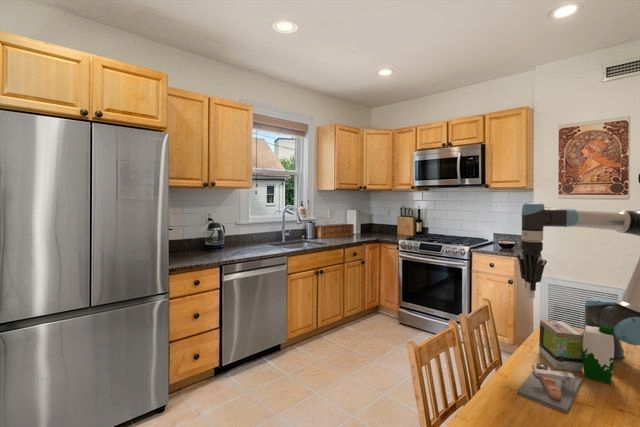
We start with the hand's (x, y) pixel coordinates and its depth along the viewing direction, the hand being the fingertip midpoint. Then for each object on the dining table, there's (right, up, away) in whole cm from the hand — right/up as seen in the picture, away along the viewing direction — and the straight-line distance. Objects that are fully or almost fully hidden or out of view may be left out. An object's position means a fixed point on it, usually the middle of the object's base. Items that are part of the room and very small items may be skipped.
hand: (530, 297), depth 137 cm
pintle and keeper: (-5, -26, -19) cm, 32 cm away
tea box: (+12, -27, 0) cm, 29 cm away
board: (-5, -27, -19) cm, 34 cm away
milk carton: (+17, -27, -12) cm, 34 cm away
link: (-6, -26, -19) cm, 32 cm away
